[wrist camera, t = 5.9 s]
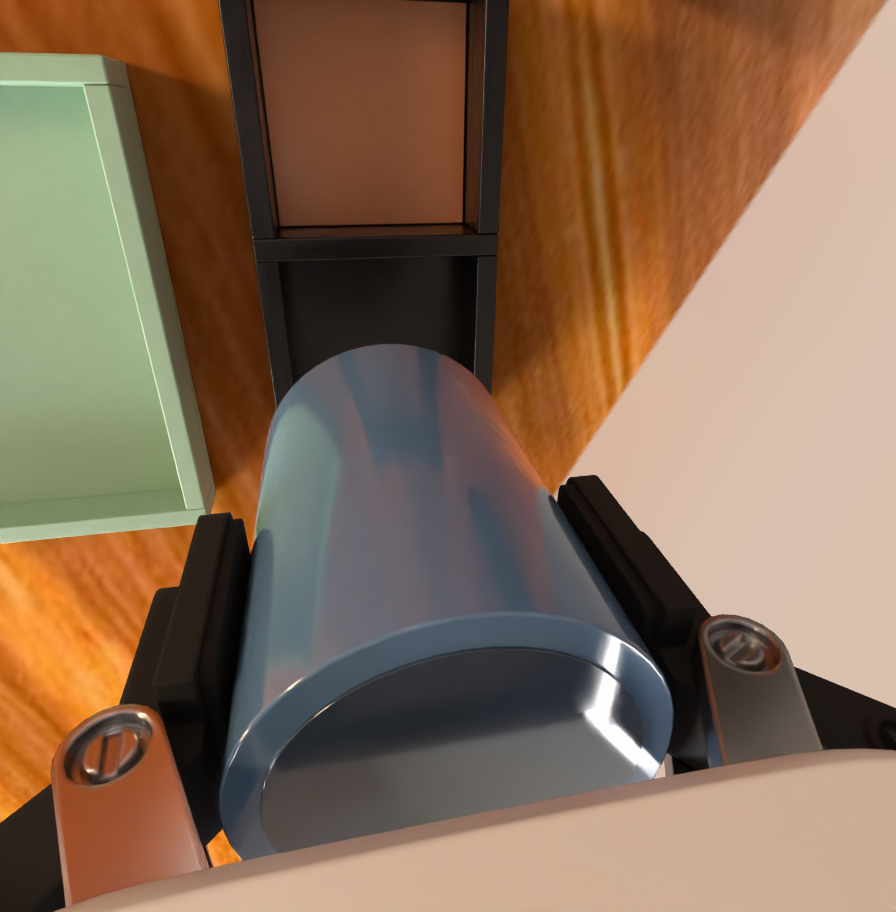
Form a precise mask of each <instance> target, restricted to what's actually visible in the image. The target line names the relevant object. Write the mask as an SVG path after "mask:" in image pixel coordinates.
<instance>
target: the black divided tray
mask: <svg viewBox="0 0 896 912" xmlns="http://www.w3.org/2000/svg"><path fill="white" fill-rule="evenodd" d="M218 7H219V14H220V20H221V27H222V34H223V41H224V48H225V55H226V62H227V69H228V76H229V83H230V90H231V97H232V104H233V111H234V118H235V125H236V132H237V139H238V146H239V153H240V160H241V167H242V174H243V181H244V188H245V195H246V202H247V209H248V216H249V223H250V230H251V237H252V238H253V240H252V244H253V251H254V258H255V261H256V263H255V266H256V272H257V279H258V286H259V293H260V300H261V307H262V314H263V321H264V328H265V335H266V342H267V349H268V356H269V363H270V370H271V377H272V384H273V391H274V398H275V405H276V409H277V408H278V406H279V404H280V403H281V401H282V399H283V398H284V396H285V395H286V394H287V393H288V391H289V390H290V389H291V388H292V386H293V385H294V384H295V383H296V382H297V381H299V380H300V379H301V378H302V377H303V376H304V375H305V374H306V373H308V372H309V371H310V370H312V369H313V368H314V367H316V366H317V365H319V364H321V363H322V362H324V361H326V360H328V359H330V358H332V357H334V356H336V355H339V354H341V353H344V352H346V351H349V350H353V349H357V348H361V347H365V346H371V345H380V344H403V345H411V346H418V347H421V348H425V349H429V350H433V351H435V352H438V353H440V354H442V355H445V356H447V357H449V358H451V359H452V360H454V361H456V362H458V363H459V364H461V365H462V366H464V367H465V368H466V369H467V370H469V371H470V372H471V373H472V374H473V375H474V376H475V377H476V378H477V379H478V380H479V381H480V382H481V383H482V384H483V385H484V387H485V388H486V390H487V391H488V393H489V394H490V395H491V389H492V368H493V346H494V324H495V303H496V281H497V260H498V257H497V254H498V234H497V233H498V231H499V213H500V191H501V169H502V148H503V126H504V104H505V83H506V61H507V39H508V18H509V0H218Z"/></svg>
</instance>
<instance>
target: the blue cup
mask: <svg viewBox="0 0 896 912" xmlns="http://www.w3.org/2000/svg"><path fill="white" fill-rule="evenodd" d="M673 727H674V706H673V701H672V696H671V691H670V688H669V686H668V683H667V681H666V679H665V677H664V674H663V672H662V671H661V669H660V667H659V666H658V664H657V663H656V661H655V659H654V658H653V656H652V655H651V653H650V651H649V650H648V648H647V647H646V645H645V643H644V642H643V640H642V638H641V637H640V635H639V634H638V632H637V630H636V629H635V627H634V626H633V624H632V622H631V621H630V619H629V618H628V616H627V614H626V613H625V611H624V610H623V608H622V606H621V605H620V603H619V601H618V600H617V598H616V597H615V595H614V593H613V592H612V590H611V589H610V587H609V585H608V584H607V582H606V581H605V579H604V577H603V576H602V574H601V572H600V571H599V569H598V568H597V566H596V564H595V563H594V561H593V560H592V558H591V556H590V555H589V553H588V552H587V550H586V548H585V547H584V545H583V544H582V542H581V540H580V539H579V537H578V535H577V534H576V532H575V531H574V529H573V527H572V526H571V524H570V523H569V521H568V519H567V518H566V516H565V515H564V513H563V511H562V510H561V508H560V506H559V505H558V503H557V502H556V500H555V498H554V497H553V495H552V494H551V492H550V490H549V489H548V487H547V486H546V484H545V482H544V481H543V479H542V478H541V476H540V474H539V473H538V471H537V469H536V468H535V466H534V465H533V463H532V461H531V460H530V458H529V457H528V455H527V453H526V452H525V450H524V449H523V447H522V445H521V444H520V442H519V441H518V439H517V437H516V436H515V434H514V432H513V431H512V429H511V428H510V426H509V424H508V423H507V421H506V420H505V418H504V416H503V415H502V413H501V412H500V410H499V408H498V407H497V405H496V403H495V402H494V400H493V399H492V397H491V395H490V394H489V393H488V391H487V390H486V388H485V387H484V385H483V384H482V383H481V382H480V381H479V380H478V379H477V378H476V377H475V376H474V375H473V374H472V373H471V372H470V371H469V370H467V369H466V368H465V367H464V366H462V365H461V364H459V363H458V362H456V361H454V360H452V359H451V358H449V357H447V356H445V355H442V354H440V353H438V352H435V351H433V350H429V349H425V348H421V347H418V346H411V345H403V344H380V345H371V346H365V347H361V348H357V349H353V350H349V351H346V352H344V353H341V354H339V355H336V356H334V357H332V358H330V359H328V360H326V361H324V362H322V363H321V364H319V365H317V366H316V367H314V368H313V369H312V370H310V371H309V372H308V373H306V374H305V375H304V376H303V377H302V378H301V379H300V380H299V381H297V382H296V383H295V384H294V385H293V386H292V388H291V389H290V390H289V391H288V393H287V394H286V395H285V396H284V398H283V399H282V401H281V403H280V404H279V406H278V408H277V409H276V411H275V413H274V416H273V418H272V421H271V423H270V426H269V430H268V434H267V439H266V445H265V452H264V459H263V467H262V474H261V481H260V489H259V496H258V503H257V511H256V518H255V525H254V533H253V540H252V547H251V555H250V562H249V569H248V577H247V584H246V591H245V599H244V606H243V613H242V621H241V628H240V635H239V643H238V650H237V657H236V665H235V672H234V679H233V687H232V694H231V701H230V709H229V716H228V723H227V731H226V738H225V745H224V753H223V760H222V767H221V775H220V782H219V795H218V809H219V814H220V819H221V824H222V828H223V830H224V832H225V835H226V837H227V839H228V841H229V843H230V845H231V847H232V848H233V849H234V851H235V852H236V853H237V855H238V856H239V857H240V859H241V860H242V861H246V860H250V859H255V858H259V857H264V856H269V855H274V854H279V853H283V852H288V851H293V850H298V849H303V848H308V847H313V846H318V845H323V844H328V843H333V842H338V841H343V840H347V839H352V838H357V837H362V836H367V835H372V834H377V833H382V832H387V831H392V830H397V829H402V828H407V827H412V826H416V825H422V824H427V823H432V822H437V821H442V820H447V819H452V818H457V817H462V816H467V815H472V814H477V813H482V812H487V811H492V810H497V809H502V808H507V807H512V806H517V805H523V804H528V803H533V802H538V801H543V800H548V799H553V798H558V797H563V796H568V795H573V794H579V793H584V792H589V791H594V790H599V789H604V788H610V787H615V786H620V785H625V784H631V783H636V782H641V781H646V780H651V779H654V777H655V775H656V773H657V772H658V770H659V768H660V766H661V765H662V763H663V761H664V758H665V756H666V753H667V750H668V748H669V745H670V741H671V737H672V732H673Z"/></svg>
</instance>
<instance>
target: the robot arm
mask: <svg viewBox="0 0 896 912" xmlns="http://www.w3.org/2000/svg"><path fill="white" fill-rule="evenodd" d="M557 503H558V505H559V506H560V508H561V510H562V511H563V513H564V515H565V516H566V518H567V519H568V521H569V523H570V524H571V526H572V527H573V529H574V531H575V532H576V534H577V535H578V537H579V539H580V540H581V542H582V544H583V545H584V547H585V548H586V550H587V552H588V553H589V555H590V556H591V558H592V560H593V561H594V563H595V564H596V566H597V568H598V569H599V571H600V572H601V574H602V576H603V577H604V579H605V581H606V582H607V584H608V585H609V587H610V589H611V590H612V592H613V593H614V595H615V597H616V598H617V600H618V601H619V603H620V605H621V606H622V608H623V610H624V611H625V613H626V614H627V616H628V618H629V619H630V621H631V622H632V624H633V626H634V627H635V629H636V630H637V632H638V634H639V635H640V637H641V638H642V640H643V642H644V643H645V645H646V647H647V648H648V650H649V651H650V653H651V655H652V656H653V658H654V659H655V661H656V663H657V664H658V666H659V667H660V669H661V671H662V672H663V674H664V677H665V679H666V681H667V683H668V686H669V688H670V691H671V696H672V701H673V706H674V727H673V732H672V737H671V741H670V745H669V748H668V750H667V753H666V756H665V758H664V763H665V773H666V777H662V778H657V779H651V780H646V781H641V782H636V783H631V784H625V785H620V786H615V787H610V788H604V789H599V790H594V791H589V792H584V793H579V794H573V795H568V796H563V797H558V798H553V799H548V800H543V801H538V802H533V803H528V804H523V805H517V806H512V807H507V808H502V809H497V810H492V811H487V812H482V813H477V814H472V815H467V816H462V817H457V818H452V819H447V820H442V821H437V822H432V823H427V824H422V825H416V826H412V827H407V828H402V829H397V830H392V831H387V832H382V833H377V834H372V835H367V836H362V837H357V838H352V839H347V840H343V841H338V842H333V843H328V844H323V845H318V846H313V847H308V848H303V849H298V850H293V851H288V852H283V853H279V854H274V855H269V856H264V857H259V858H255V859H250V860H246V861H241V862H236V863H232V864H227V865H223V866H218V867H214V866H213V863H212V860H211V857H210V854H209V850H208V847H207V844H208V843H209V842H210V841H211V840H212V839H213V838H214V837H215V836H216V835H217V834H218V833H219V832H220V831H221V830H222V824H221V819H220V814H219V809H218V795H219V782H220V775H221V767H222V760H223V753H224V745H225V738H226V731H227V723H228V716H229V709H230V701H231V694H232V687H233V679H234V672H235V665H236V657H237V650H238V643H239V635H240V628H241V621H242V613H243V606H244V599H245V591H246V584H247V577H248V569H249V562H250V551H249V547H248V542H247V537H246V532H245V527H244V522H243V520H242V519H233V518H232V515H231V513H230V512H229V513H219V514H209V515H200V516H199V517H198V520H197V523H196V527H195V531H194V534H193V538H192V542H191V545H190V549H189V552H188V556H187V560H186V563H185V567H184V570H183V574H182V578H181V581H180V585H179V586H178V587H170V588H162V589H159V590H158V591H157V592H156V594H155V596H154V598H153V601H152V604H151V607H150V610H149V614H148V617H147V620H146V623H145V626H144V629H143V632H142V635H141V638H140V641H139V645H138V648H137V651H136V654H135V657H134V660H133V663H132V666H131V669H130V673H129V676H128V679H127V682H126V685H125V688H124V691H123V694H122V697H121V700H120V704H119V705H117V706H114V707H111V708H108V709H105V710H102V711H100V712H98V713H96V714H94V715H93V716H91V717H89V718H87V719H85V720H84V721H83V722H82V723H80V724H79V725H78V726H77V727H75V728H74V729H73V730H72V731H71V732H70V733H69V734H68V735H67V736H66V738H65V739H64V740H63V741H62V743H61V744H60V745H59V747H58V749H57V751H56V753H55V755H54V757H53V759H52V766H51V782H52V783H51V784H50V785H49V786H47V787H46V788H45V789H44V790H42V791H41V792H40V793H38V794H37V795H36V796H35V797H33V798H32V799H31V800H30V801H28V802H27V803H26V804H24V805H23V806H22V807H21V808H19V809H18V810H17V811H15V812H14V813H13V814H12V815H10V816H9V817H8V818H6V819H5V820H4V821H3V822H1V823H0V912H896V708H894V707H892V706H889V705H887V704H884V703H882V702H879V701H877V700H874V699H872V698H870V697H867V696H864V695H862V694H860V693H857V692H855V691H852V690H850V689H848V688H845V687H843V686H840V685H838V684H835V683H833V682H830V681H828V680H825V679H823V678H821V677H818V676H816V675H813V674H810V673H808V672H806V671H803V670H801V669H799V668H796V667H794V666H793V663H792V660H791V658H790V654H789V652H788V650H787V648H786V646H785V645H784V643H783V641H782V640H780V638H779V637H778V636H777V635H776V634H775V633H774V632H772V631H771V630H769V629H768V628H766V627H765V626H764V625H762V624H760V623H758V622H755V621H753V620H751V619H749V618H745V617H741V616H737V615H724V614H722V615H718V616H712V617H711V616H710V614H709V613H708V612H707V610H706V609H705V608H704V607H703V605H702V604H701V603H700V602H699V600H698V599H697V598H696V596H695V595H694V594H693V593H692V591H691V590H690V589H689V587H688V586H687V585H686V584H685V582H684V581H683V580H682V579H681V577H680V576H679V575H678V573H677V572H676V571H675V570H674V568H673V567H672V566H671V565H670V563H669V562H668V561H667V559H666V558H665V557H664V556H663V554H662V553H661V552H660V550H659V549H658V548H657V547H656V545H655V544H654V543H653V542H652V540H651V539H650V538H649V537H648V536H647V535H646V534H645V533H644V532H642V531H640V530H639V529H638V528H637V526H636V525H635V524H634V522H633V521H632V520H631V519H630V517H629V516H628V515H627V513H626V512H625V511H624V510H623V508H622V507H621V506H620V504H619V503H618V502H617V500H616V499H615V498H614V497H613V495H612V494H611V493H610V492H609V490H608V489H607V488H606V486H605V485H604V484H603V482H602V481H601V480H600V479H599V477H597V476H596V475H589V476H579V477H570V478H569V479H568V480H567V483H566V485H561V486H560V488H559V491H558V500H557Z"/></svg>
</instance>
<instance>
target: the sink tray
mask: <svg viewBox="0 0 896 912" xmlns="http://www.w3.org/2000/svg"><path fill="white" fill-rule="evenodd" d="M215 495H216V489H215V485H214V480H213V475H212V471H211V466H210V461H209V456H208V452H207V447H206V442H205V438H204V433H203V428H202V423H201V419H200V414H199V409H198V405H197V400H196V395H195V390H194V386H193V381H192V376H191V372H190V367H189V362H188V357H187V353H186V348H185V343H184V338H183V334H182V329H181V324H180V320H179V315H178V310H177V305H176V301H175V296H174V291H173V287H172V282H171V277H170V272H169V268H168V263H167V258H166V254H165V249H164V244H163V239H162V235H161V230H160V225H159V221H158V216H157V211H156V206H155V202H154V197H153V192H152V187H151V183H150V178H149V173H148V169H147V164H146V159H145V154H144V150H143V145H142V140H141V136H140V131H139V126H138V121H137V117H136V112H135V107H134V103H133V98H132V93H131V88H130V84H129V79H128V74H127V70H126V65H125V63H124V62H123V61H120V60H116V59H113V58H110V57H106V56H103V55H96V54H58V53H19V52H0V544H1V543H11V542H21V541H31V540H41V539H51V538H62V537H72V536H82V535H92V534H102V533H112V532H122V531H132V530H142V529H152V528H162V527H173V526H183V525H193V524H196V523H197V520H198V517H199V516H200V515H209V514H211V510H212V506H213V503H214V498H215Z"/></svg>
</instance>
